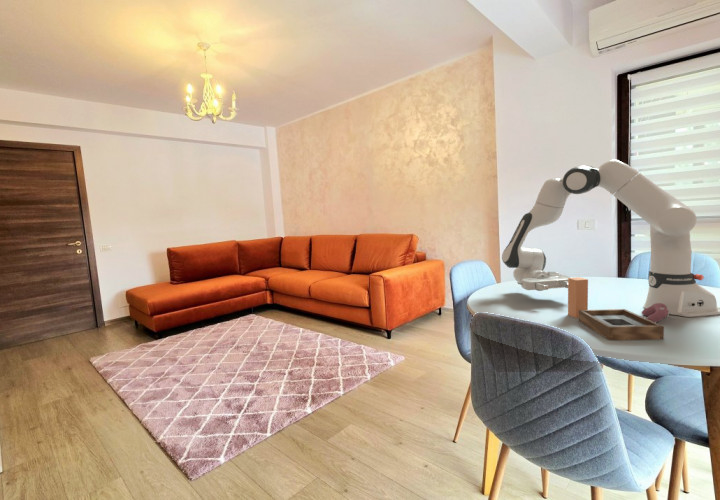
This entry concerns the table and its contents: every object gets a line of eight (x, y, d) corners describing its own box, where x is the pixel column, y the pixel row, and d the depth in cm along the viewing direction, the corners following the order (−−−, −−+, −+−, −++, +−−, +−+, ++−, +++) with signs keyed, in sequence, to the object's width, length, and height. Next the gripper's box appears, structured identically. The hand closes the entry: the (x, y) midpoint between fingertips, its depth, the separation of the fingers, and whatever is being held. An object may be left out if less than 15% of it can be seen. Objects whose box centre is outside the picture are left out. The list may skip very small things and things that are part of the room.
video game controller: (660, 328, 114) (674, 311, 112) (645, 321, 116) (657, 304, 114) (654, 320, 123) (666, 303, 120) (640, 313, 124) (651, 297, 122)
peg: (579, 313, 129) (579, 277, 128) (587, 317, 125) (587, 279, 124) (567, 314, 129) (568, 278, 128) (575, 318, 125) (576, 280, 123)
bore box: (624, 320, 120) (624, 309, 119) (663, 339, 102) (663, 326, 101) (578, 321, 121) (578, 310, 121) (608, 340, 104) (609, 327, 103)
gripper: (515, 275, 151) (532, 281, 137) (560, 271, 152) (582, 277, 138) (515, 289, 151) (532, 296, 138) (560, 285, 152) (582, 292, 139)
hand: (558, 287), depth 138 cm, fingers open, 8 cm apart
